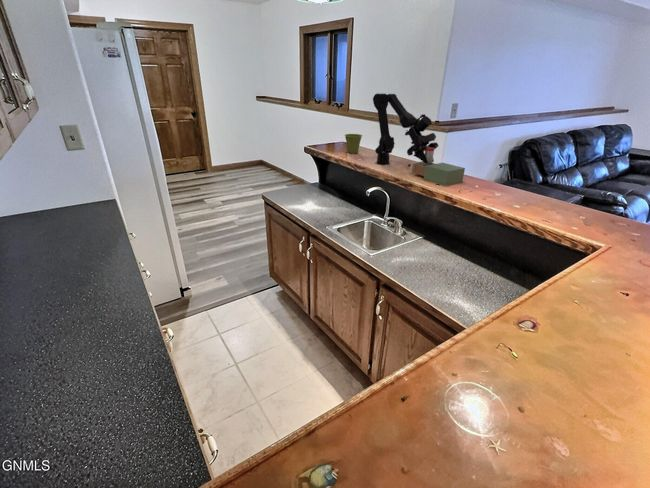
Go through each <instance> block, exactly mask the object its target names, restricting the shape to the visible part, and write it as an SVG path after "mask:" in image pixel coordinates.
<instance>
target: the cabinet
mask: <svg viewBox="0 0 650 488" xmlns="http://www.w3.org/2000/svg"><path fill="white" fill-rule="evenodd" d="M465 170H466V167H462V166H458V165H454V164H450V163H446V162H438V163H435V164H432V165H426V166H425V172H424V176H423V181H427V182H431V183H434V184H438V185H440V186H444V187H446V186H451V185H456V184H460V183H463V180H464V175H465Z"/></svg>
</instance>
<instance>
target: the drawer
mask: <svg viewBox="0 0 650 488" xmlns="http://www.w3.org/2000/svg"><path fill="white" fill-rule="evenodd" d="M432 164H436V163H434V162H432ZM407 167H408V168H409V174H415V175H419V176H422V177H424V172H425V166H423V161H422V160H420V161H415V162H410V163H408V164H407Z"/></svg>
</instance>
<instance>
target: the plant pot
mask: <svg viewBox="0 0 650 488" xmlns="http://www.w3.org/2000/svg"><path fill="white" fill-rule="evenodd" d="M344 137H345V138H344V139H345V142H346V143H345V144H346V152H347V153H349V154H357V153H359V149H360V145H361V140H362V137H363V134H359V133H345V134H344Z"/></svg>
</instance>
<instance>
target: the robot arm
mask: <svg viewBox="0 0 650 488" xmlns="http://www.w3.org/2000/svg"><path fill="white" fill-rule="evenodd" d="M372 103H373V106H374V108H375V109H376V111H377V116H378V124H379V131H380V138H379V140H378V145H377V147H376V148H375V154H377V155H376V156H377V158H376V161H375V162H374V163H375V164H376V165H377V164H378V165H381V166H382V165H383V166H386V165H389V164H390V154H391V153H393V150H394V148H395V145H396V142H395V137H394V136H391V134H390V125H389V118H388V112H387V109H388V106H389V105H390V107H392V109H393V111H394V112H395V113H396V115H397V117H398V118H399V119H398V121H399V124H400V125H401V127H402V128H403V129H406V130H405V133H404V136H409V138H410V139H411V142H410V144H411V146H410V147H409V148H408V149H407V150H406V155H407V156H413V157H415V158H417V159H418V160H420V161H423V162H424V163H428V161H427V159H426V156H425V148H426V147H433V148H435V149H434V151H435V150H436V149H437V148H438V147H439V144H438V142H435V141H436V138H437V135H436V134H435V133H434V132H431V133H429V134H426V135H423V134H422V133H423V132H425V131H426V130H427V129H428V128H429V127H430V126H431V125H432V119H431V118H430V117H428V116H427V115H426V114H423V113H422V114H420V116H419V117H418V118H416V117H415V116H414V115H413V114H412V113H410V112H408V111H407V109H406V108H405V107H404V105H403V103H402V102H401V100H400V99H399V98H398V96H397V94H395V93H388V94H387V93H385V92H384V93H375V94H374V95H373V96H372ZM432 163H434V158H433V160H432Z"/></svg>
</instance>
